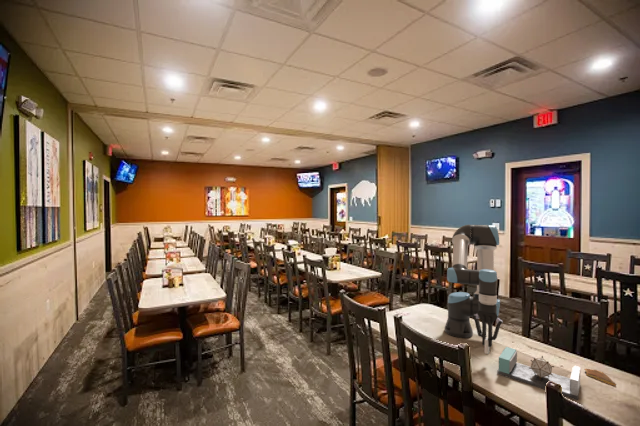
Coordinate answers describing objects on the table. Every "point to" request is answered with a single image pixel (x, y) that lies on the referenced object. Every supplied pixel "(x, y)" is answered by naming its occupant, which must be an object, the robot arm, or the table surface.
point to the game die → (541, 367)
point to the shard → (599, 376)
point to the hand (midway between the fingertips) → (487, 352)
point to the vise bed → (546, 379)
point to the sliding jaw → (507, 360)
